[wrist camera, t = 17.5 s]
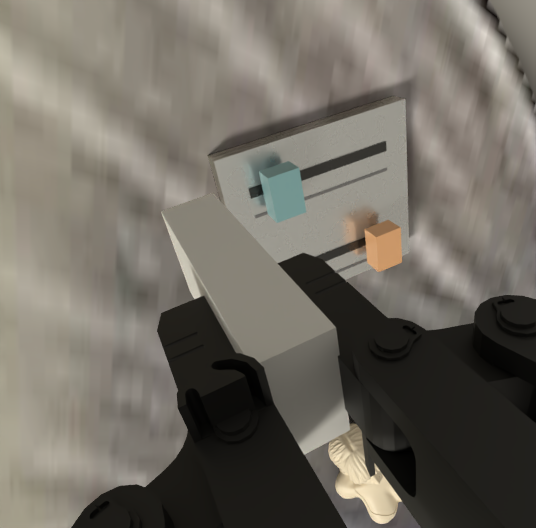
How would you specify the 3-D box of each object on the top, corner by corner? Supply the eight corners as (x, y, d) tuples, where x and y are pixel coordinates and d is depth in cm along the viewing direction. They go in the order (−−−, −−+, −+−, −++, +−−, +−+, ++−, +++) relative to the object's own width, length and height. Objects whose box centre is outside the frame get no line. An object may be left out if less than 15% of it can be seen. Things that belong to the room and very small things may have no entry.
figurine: (375, 541, 70) (326, 507, 58) (343, 489, 78) (293, 448, 65) (442, 487, 71) (407, 441, 58) (404, 440, 78) (366, 390, 65)
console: (249, 307, 51) (256, 317, 49) (207, 155, 41) (214, 161, 39) (398, 245, 55) (409, 253, 53) (393, 95, 45) (406, 98, 44)
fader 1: (264, 211, 43) (277, 223, 41) (255, 168, 41) (267, 178, 38) (292, 201, 44) (306, 212, 41) (285, 158, 42) (299, 167, 39)
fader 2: (363, 259, 51) (378, 272, 48) (360, 226, 49) (376, 237, 46) (385, 250, 52) (402, 262, 49) (383, 216, 49) (400, 227, 47)
